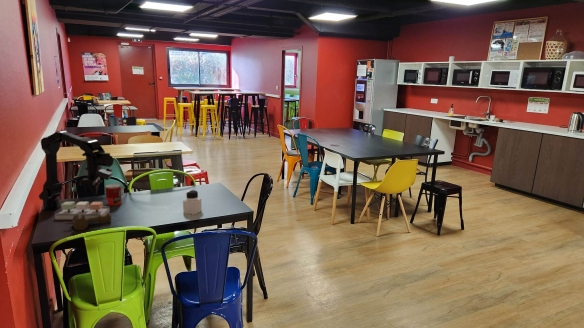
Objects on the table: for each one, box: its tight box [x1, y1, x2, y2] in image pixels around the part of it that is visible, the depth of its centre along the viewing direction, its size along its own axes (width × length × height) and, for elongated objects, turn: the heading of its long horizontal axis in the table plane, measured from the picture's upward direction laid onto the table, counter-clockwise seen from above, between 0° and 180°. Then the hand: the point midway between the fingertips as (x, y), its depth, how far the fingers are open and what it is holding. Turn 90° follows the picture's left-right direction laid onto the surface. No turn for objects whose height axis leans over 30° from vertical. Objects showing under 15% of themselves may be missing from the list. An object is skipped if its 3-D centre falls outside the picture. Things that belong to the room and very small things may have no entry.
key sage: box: [60, 201, 76, 211], centre depth 196 cm, size 5×5×3 cm
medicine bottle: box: [182, 189, 203, 216], centre depth 205 cm, size 7×7×12 cm
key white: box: [75, 201, 90, 210], centre depth 196 cm, size 5×5×3 cm
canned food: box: [105, 183, 123, 207], centre depth 214 cm, size 8×8×11 cm
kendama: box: [64, 212, 112, 231], centre depth 184 cm, size 6×10×20 cm
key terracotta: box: [89, 201, 104, 210], centre depth 197 cm, size 5×5×3 cm
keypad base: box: [54, 205, 111, 220], centre depth 197 cm, size 22×12×4 cm, turn 95°
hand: (95, 194), depth 195 cm, fingers closed
